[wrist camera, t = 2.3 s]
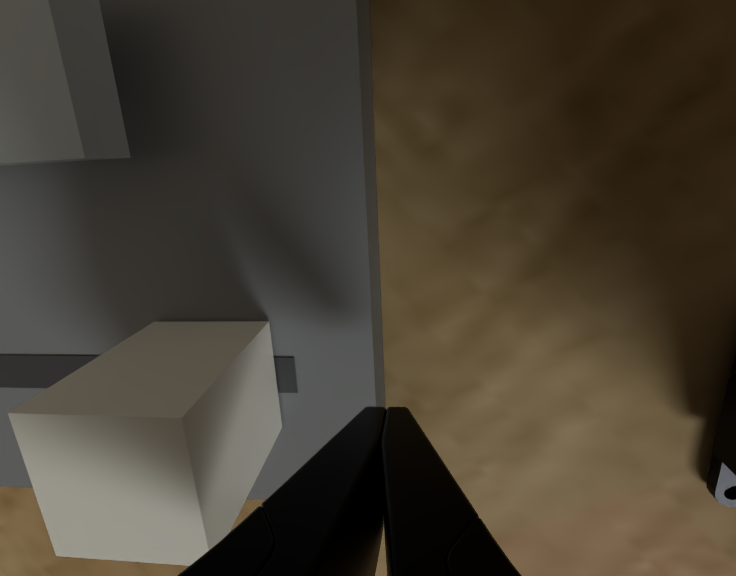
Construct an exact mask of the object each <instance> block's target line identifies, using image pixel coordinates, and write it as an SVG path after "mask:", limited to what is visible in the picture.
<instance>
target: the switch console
mask: <svg viewBox="0 0 736 576" xmlns="http://www.w3.org/2000/svg"><path fill="white" fill-rule="evenodd" d="M99 3H100V8H101V13H102V18H103V23H104V28H105V33H106V38H107V43H108V48H109V53H110V58H111V63H112V68H113V73H114V78H115V82H116V87H117V92H118V97H119V102H120V107H121V112H122V117H123V122H124V127H125V132H126V137H127V142H128V147H129V152H130V157H131V158H119V159H103V160H86V161H70V162H54V163H40V164H21V165H4V166H0V486H7V487H27V488H33V486H32V483H31V480H30V477H29V474H28V472H27V469H26V466H25V463H24V460H23V457H22V454H21V451H20V448H19V445H18V442H17V439H16V436H15V433H14V430H13V428H12V425H11V422H10V419H9V416H8V413H9V412H10V411H12V410H14V409H15V408H17V407H18V406H20V405H22V404H23V403H25V402H26V401H28V400H30V399H31V398H33V397H34V396H36V395H38V394H39V393H41V392H42V391H44V390H46V389H47V388H49V387H50V386H52V385H54V384H55V383H57V382H58V381H60V380H62V379H63V378H65V377H66V376H68V375H70V374H71V373H73V372H74V371H76V370H78V369H79V368H81V367H82V366H84V365H86V364H87V363H89V362H90V361H92V360H94V359H95V358H97V357H98V356H100V355H102V354H103V353H105V352H106V351H108V350H110V349H111V348H113V347H114V346H116V345H118V344H119V343H121V342H122V341H124V340H126V339H127V338H129V337H131V336H132V335H134V334H135V333H137V332H139V331H140V330H142V329H143V328H145V327H147V326H148V325H150V324H151V323H153V322H214V321H269V325H270V333H271V341H272V349H273V357H274V365H275V373H276V381H277V389H278V397H279V405H280V413H281V421H282V429H281V431H280V433H279V435H278V437H277V439H276V441H275V443H274V445H273V447H272V449H271V451H270V453H269V455H268V457H267V459H266V461H265V463H264V465H263V467H262V469H261V471H260V473H259V475H258V477H257V479H256V481H255V483H254V485H253V487H252V489H251V491H250V493H249V495H248V497H247V499H263V500H266V499H267V498H268V497H269V496H271V495H272V494H273V493H274V492H275V491H276V490H277V489H278V488H279V487H280V486H281V485H282V484H283V483H284V482H286V481H287V480H288V479H289V478H290V477H291V476H292V475H293V474H294V473H295V472H296V471H297V470H298V469H299V468H301V467H302V466H303V465H304V464H305V463H306V462H307V461H308V460H309V459H310V458H311V457H312V456H313V455H314V454H316V453H317V452H318V451H319V450H320V449H321V448H322V447H323V446H324V445H325V444H326V443H327V442H328V441H329V440H331V439H332V438H333V437H334V436H335V435H336V434H337V433H338V432H339V431H340V430H341V429H342V428H343V427H344V426H346V425H347V424H348V423H349V422H350V421H351V420H352V419H353V418H354V417H355V416H356V415H357V414H358V413H359V412H361V411H362V410H363V409H364V408H365V407H367V406H376V407H385V385H384V361H383V336H382V312H381V287H380V262H379V238H378V213H377V189H376V164H375V139H374V115H373V90H372V66H371V41H370V16H369V0H99Z"/></svg>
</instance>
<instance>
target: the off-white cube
mask: <svg viewBox="0 0 736 576" xmlns="http://www.w3.org/2000/svg"><path fill="white" fill-rule="evenodd" d="M8 416H9V419H10V422H11V425H12V428H13V430H14V433H15V436H16V439H17V442H18V445H19V448H20V451H21V454H22V457H23V460H24V463H25V466H26V469H27V472H28V474H29V477H30V480H31V483H32V486H33V489H34V492H35V495H36V498H37V501H38V504H39V507H40V510H41V513H42V516H43V518H44V521H45V524H46V527H47V530H48V533H49V536H50V539H51V542H52V545H53V548H54V551H55V554H56V556H63V557H77V558H91V559H105V560H119V561H132V562H146V563H160V564H174V565H188V566H190V565H191V564H193V563H194V562H195V561H196V560H198V559H199V558H200V557H201V556H203V555H204V554H205V553H206V552H208V551H209V550H210V549H211V548H212V547H214V546H215V545H216V544H217V543H219V542H220V541H221V540H222V539H223V538H224V537H225V536H227V535H228V534H229V532H230V530H231V528H232V526H233V524H234V522H235V520H236V518H237V516H238V514H239V512H240V510H241V508H242V506H243V504H244V502H245V501H246V499H247V497H248V495H249V493H250V491H251V489H252V487H253V485H254V483H255V481H256V479H257V477H258V475H259V473H260V471H261V469H262V467H263V465H264V463H265V461H266V459H267V457H268V455H269V453H270V451H271V449H272V447H273V445H274V443H275V441H276V439H277V437H278V435H279V433H280V431H281V429H282V421H281V413H280V405H279V397H278V389H277V381H276V373H275V365H274V357H273V349H272V341H271V333H270V325H269V321H214V322H153V323H151V324H150V325H148V326H147V327H145V328H143V329H142V330H140V331H139V332H137V333H135V334H134V335H132V336H131V337H129V338H127V339H126V340H124V341H122V342H121V343H119V344H118V345H116V346H114V347H113V348H111V349H110V350H108V351H106V352H105V353H103V354H102V355H100V356H98V357H97V358H95V359H94V360H92V361H90V362H89V363H87V364H86V365H84V366H82V367H81V368H79V369H78V370H76V371H74V372H73V373H71V374H70V375H68V376H66V377H65V378H63V379H62V380H60V381H58V382H57V383H55V384H54V385H52V386H50V387H49V388H47V389H46V390H44V391H42V392H41V393H39V394H38V395H36V396H34V397H33V398H31V399H30V400H28V401H26V402H25V403H23V404H22V405H20V406H18V407H17V408H15V409H14V410H12V411H10V412H9V413H8Z"/></svg>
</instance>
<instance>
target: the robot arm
mask: <svg viewBox="0 0 736 576" xmlns="http://www.w3.org/2000/svg"><path fill="white" fill-rule="evenodd" d="M706 483H707V489H708V490H709V492H710V493H711V494H712V495H713V497H714V498H715V499H716V500H717V501H718V502H719V503H721V504H722V505H724V506H729V507H736V354H735V359H734V363H733V368H732V372H731V376H730V378H729V380H728V385H727V389H726V393H725V398H724V402H723V407H722V411H721V416H720V420H719V424H718V429H717V433H716V438H715V442H714V447H713V456H712V460H711V465H710V469H709V473H708V478H707V482H706ZM731 486H732V487H731ZM729 487H731V488H729ZM727 488H729V489H727ZM726 489H727V490H726ZM383 525H384V530H385V548H386V563H387V576H521V575H520V573H519V572H518V571H517V570H516V568H515V567H514V566H513V565H512V563H511V562H510V561H509V559H508V558H507V556H506V555H505V553H504V552H503V551H502V549H501V548H500V546H499V545H498V544H497V542H496V541H495V539H494V538H493V537H492V535H491V533H490V532H489V530H488V529H487V527H486V526H485V524H484V523H483V521H482V520H481V519H480V518H479V516H478V514H477V513H476V511H475V509H474V508H473V506H472V505H471V503H470V502H469V500H468V499H467V497H466V496H465V494H464V493H463V491H462V490H461V488H460V487H459V485H458V484H457V482H456V481H455V479H454V478H453V476H452V475H451V473H450V472H449V470H448V468H447V467H446V465H445V464H444V462H443V461H442V459H441V458H440V456H439V455H438V453H437V452H436V450H435V449H434V447H433V446H432V444H431V443H430V441H429V440H428V438H427V437H426V435H425V434H424V432H423V431H422V429H421V427H420V426H419V424H418V423H417V421H416V420H415V418H414V417H413V415H412V414H411V412H410V411H409V409H408V408H406V407H388V408H387V410H386V408H385V407H376V406H367V407H365V408H364V409H363V410H362V411H361V412H359V413H358V414H357V415H356V416H355V417H354V418H353V419H352V420H351V421H350V422H349V423H348V424H347V425H346V426H344V427H343V428H342V429H341V430H340V431H339V432H338V433H337V434H336V435H335V436H334V437H333V438H332V439H331V440H329V441H328V442H327V443H326V444H325V445H324V446H323V447H322V448H321V449H320V450H319V451H318V452H317V453H316V454H314V455H313V456H312V457H311V458H310V459H309V460H308V461H307V462H306V463H305V464H304V465H303V466H302V467H301V468H299V469H298V470H297V471H296V472H295V473H294V474H293V475H292V476H291V477H290V478H289V479H288V480H287V481H286V482H284V483H283V484H282V485H281V486H280V487H279V488H278V489H277V490H276V491H275V492H274V493H273V494H272V495H271V496H269V497H268V498H267V499H266V500H265V501H264V502H263V503H262V507H261V506H259V507H257V508H256V509H255V510H254V511H253V512H252V513H251V514H250V515H249V516H248V517H247V518H246V519H245V520H243V521H242V522H241V523H240V524H239V525H238V526H237V527H236V528H234V529H233V530H232V531H231V532H230V533H229V534H228V535H227V536H225V537H224V538H223V539H222V540H221V541H220V542H219V543H217V544H216V545H215V546H214V547H212V548H211V549H210V550H209V551H208V552H206V553H205V554H204V555H203V556H201V557H200V558H199V559H198V560H196V561H195V562H194V563H193V564H191V565H190V566H189V567H188V568H186V569H185V570H184V571H183V572H181V573H180V574H179V575H177V576H375V572H376V567H377V561H378V556H379V550H380V545H381V539H382V532H383Z"/></svg>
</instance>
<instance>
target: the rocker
mask: <svg viewBox="0 0 736 576" xmlns="http://www.w3.org/2000/svg"><path fill="white" fill-rule="evenodd" d="M119 158H131V157H130V152H129V147H128V142H127V137H126V132H125V127H124V122H123V117H122V112H121V107H120V102H119V97H118V92H117V87H116V82H115V78H114V73H113V68H112V63H111V58H110V53H109V48H108V43H107V38H106V33H105V28H104V23H103V18H102V13H101V8H100V3H99V0H0V166H4V165H21V164H40V163H54V162H70V161H86V160H103V159H119Z"/></svg>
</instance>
